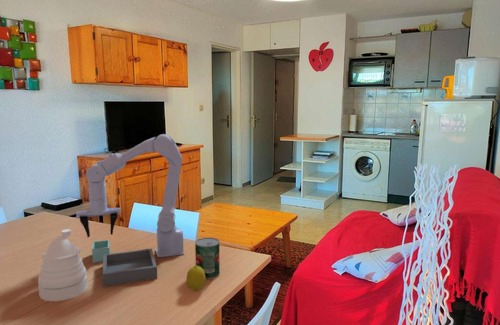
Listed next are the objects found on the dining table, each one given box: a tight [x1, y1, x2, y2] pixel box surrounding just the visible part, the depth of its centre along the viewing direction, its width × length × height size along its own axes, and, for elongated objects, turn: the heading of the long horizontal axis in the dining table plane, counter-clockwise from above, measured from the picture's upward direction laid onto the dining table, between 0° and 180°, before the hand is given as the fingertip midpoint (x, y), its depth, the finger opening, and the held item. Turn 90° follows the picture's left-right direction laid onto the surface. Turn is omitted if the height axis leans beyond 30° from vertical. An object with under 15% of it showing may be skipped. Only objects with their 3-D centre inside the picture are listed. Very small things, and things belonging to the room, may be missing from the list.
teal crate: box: [91, 239, 111, 264], centre depth 134 cm, size 6×8×5 cm
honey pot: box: [37, 228, 88, 302], centre depth 109 cm, size 13×13×18 cm
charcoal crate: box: [102, 248, 158, 288], centre depth 122 cm, size 16×16×4 cm
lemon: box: [186, 264, 206, 292], centre depth 109 cm, size 6×6×8 cm
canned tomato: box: [194, 237, 221, 280], centre depth 120 cm, size 8×8×11 cm
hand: (100, 235), depth 133 cm, fingers open, 7 cm apart
